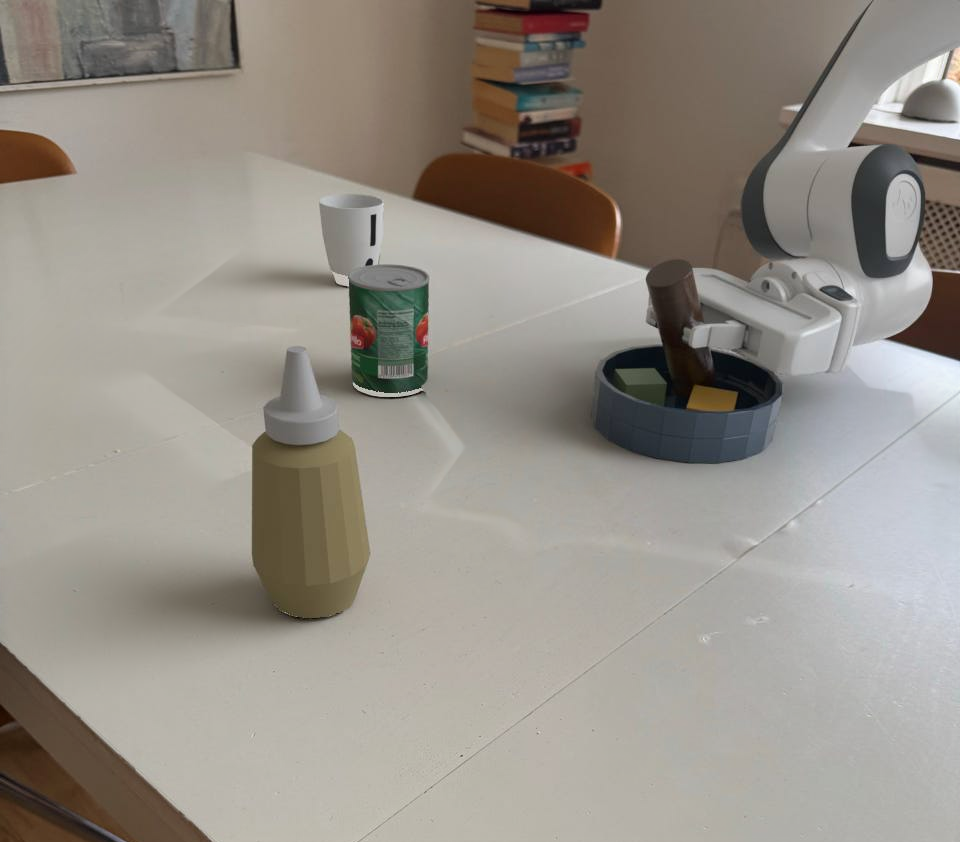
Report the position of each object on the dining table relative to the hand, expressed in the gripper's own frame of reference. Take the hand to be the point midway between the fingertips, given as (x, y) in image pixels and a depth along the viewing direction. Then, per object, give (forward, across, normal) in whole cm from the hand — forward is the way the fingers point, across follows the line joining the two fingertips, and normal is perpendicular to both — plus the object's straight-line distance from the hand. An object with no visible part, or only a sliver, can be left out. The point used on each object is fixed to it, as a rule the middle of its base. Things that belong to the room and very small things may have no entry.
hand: (669, 326), depth 89 cm
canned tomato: (+17, -22, +11) cm, 30 cm away
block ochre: (-3, +4, +10) cm, 11 cm away
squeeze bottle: (+39, +12, +11) cm, 42 cm away
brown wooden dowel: (-4, 0, +6) cm, 7 cm away
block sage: (0, -3, +10) cm, 10 cm away
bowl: (-4, 0, +11) cm, 11 cm away
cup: (+7, -56, +11) cm, 57 cm away
